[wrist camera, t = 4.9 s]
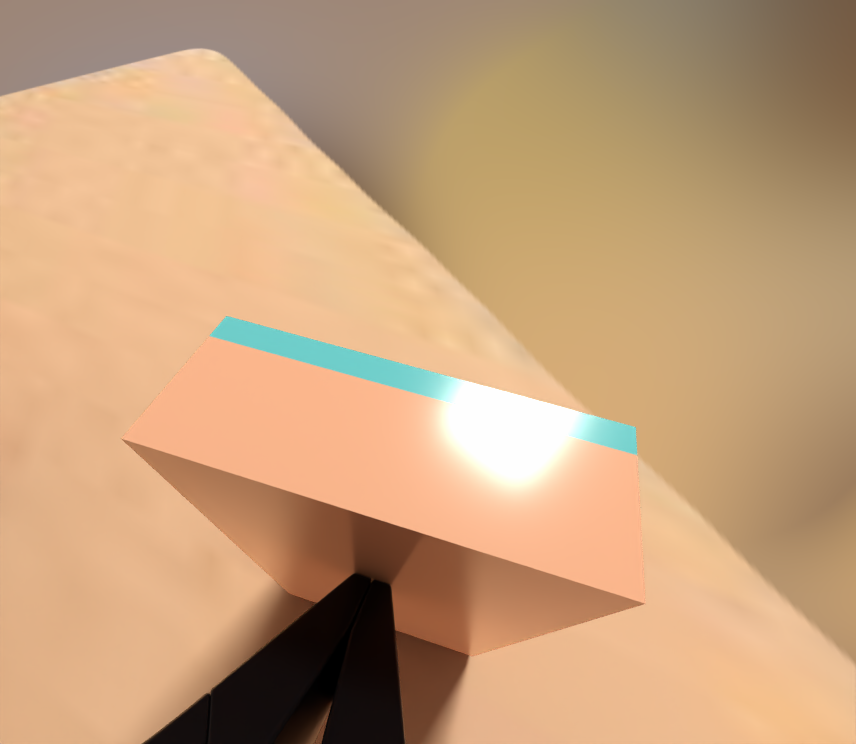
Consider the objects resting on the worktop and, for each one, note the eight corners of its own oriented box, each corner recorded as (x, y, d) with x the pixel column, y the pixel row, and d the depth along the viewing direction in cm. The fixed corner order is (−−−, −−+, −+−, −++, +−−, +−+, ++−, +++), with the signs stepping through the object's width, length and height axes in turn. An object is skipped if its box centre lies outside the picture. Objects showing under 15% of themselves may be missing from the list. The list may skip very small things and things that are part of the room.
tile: (472, 656, 14) (645, 603, 5) (289, 593, 15) (120, 439, 5) (485, 580, 16) (635, 427, 6) (318, 527, 16) (226, 316, 7)
